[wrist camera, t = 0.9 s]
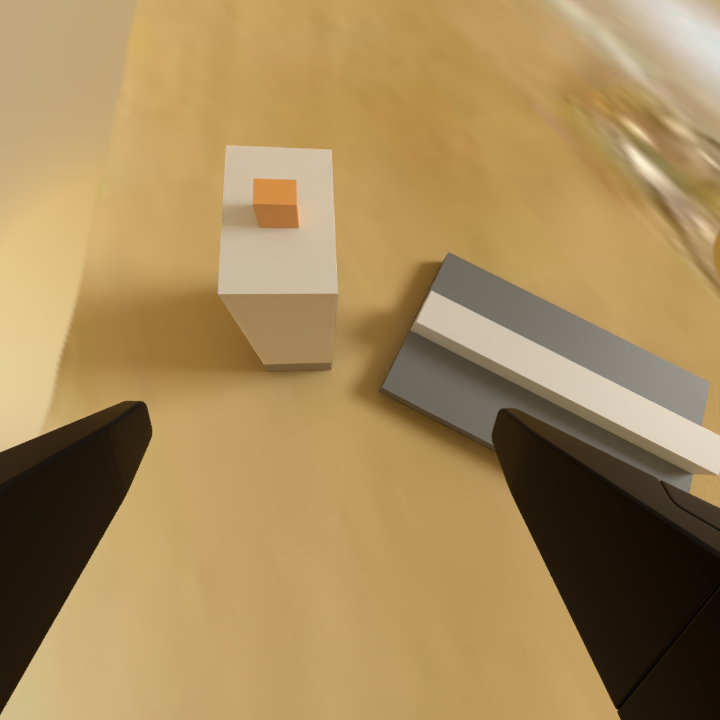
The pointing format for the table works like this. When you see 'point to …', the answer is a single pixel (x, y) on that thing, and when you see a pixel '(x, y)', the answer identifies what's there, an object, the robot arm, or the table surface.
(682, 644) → the robot arm
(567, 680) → the table surface
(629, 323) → the table surface
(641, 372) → the mounting board
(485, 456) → the table surface
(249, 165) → the block
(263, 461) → the table surface
